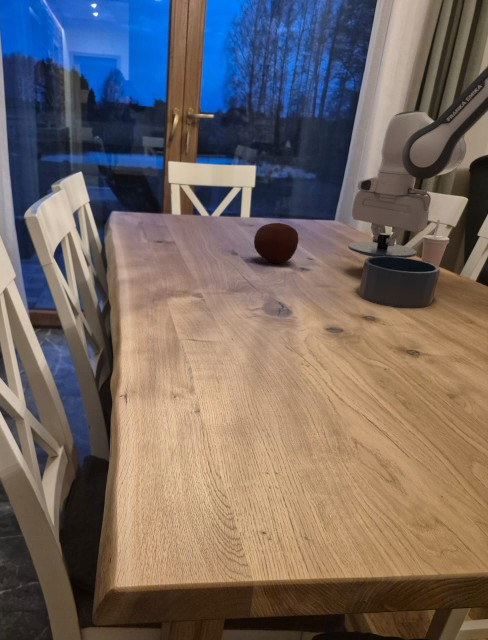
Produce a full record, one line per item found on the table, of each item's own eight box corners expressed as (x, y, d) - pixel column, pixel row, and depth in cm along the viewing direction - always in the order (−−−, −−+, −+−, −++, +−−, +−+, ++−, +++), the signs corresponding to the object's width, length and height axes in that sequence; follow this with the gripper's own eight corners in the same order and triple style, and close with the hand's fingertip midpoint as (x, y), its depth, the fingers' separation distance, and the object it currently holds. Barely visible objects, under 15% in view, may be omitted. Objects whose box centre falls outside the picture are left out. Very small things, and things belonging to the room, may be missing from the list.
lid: (429, 257, 144) (433, 237, 142) (387, 262, 135) (391, 242, 133) (375, 244, 156) (379, 226, 154) (334, 248, 147) (337, 230, 145)
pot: (446, 302, 127) (454, 268, 124) (401, 311, 119) (409, 276, 116) (388, 285, 139) (394, 253, 135) (344, 292, 130) (349, 259, 127)
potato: (272, 255, 163) (276, 217, 159) (305, 265, 153) (310, 225, 149) (242, 258, 157) (245, 219, 153) (274, 269, 148) (279, 228, 143)
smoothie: (409, 272, 152) (421, 217, 146) (429, 271, 154) (442, 217, 148) (425, 278, 147) (438, 222, 141) (446, 277, 149) (459, 222, 142)
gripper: (440, 191, 132) (426, 251, 139) (369, 181, 147) (359, 236, 153) (423, 191, 129) (410, 253, 135) (353, 181, 144) (343, 237, 150)
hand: (382, 244), depth 144 cm, fingers closed on lid, 2 cm apart
